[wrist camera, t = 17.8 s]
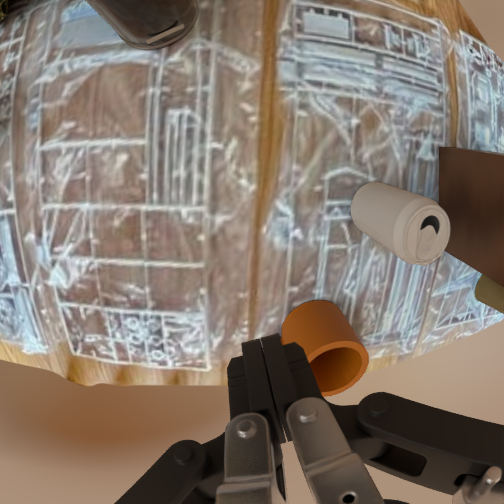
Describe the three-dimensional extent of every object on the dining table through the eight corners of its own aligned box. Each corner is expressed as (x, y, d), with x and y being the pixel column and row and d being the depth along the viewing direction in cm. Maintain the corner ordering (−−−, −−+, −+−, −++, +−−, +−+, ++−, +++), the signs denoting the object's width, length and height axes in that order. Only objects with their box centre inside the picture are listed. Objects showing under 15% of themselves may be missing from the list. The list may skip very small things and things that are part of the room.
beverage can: (398, 188, 34) (461, 210, 23) (384, 236, 36) (440, 273, 25) (355, 174, 33) (413, 192, 22) (342, 226, 35) (391, 264, 24)
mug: (254, 308, 38) (263, 353, 29) (344, 294, 38) (373, 332, 30) (260, 361, 41) (269, 408, 32) (341, 347, 42) (364, 388, 33)
